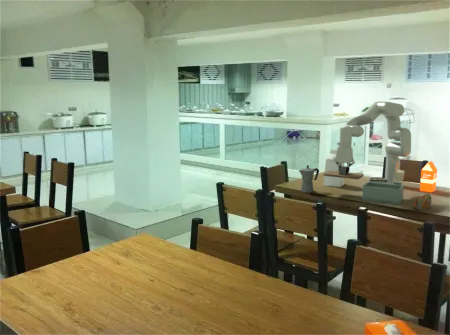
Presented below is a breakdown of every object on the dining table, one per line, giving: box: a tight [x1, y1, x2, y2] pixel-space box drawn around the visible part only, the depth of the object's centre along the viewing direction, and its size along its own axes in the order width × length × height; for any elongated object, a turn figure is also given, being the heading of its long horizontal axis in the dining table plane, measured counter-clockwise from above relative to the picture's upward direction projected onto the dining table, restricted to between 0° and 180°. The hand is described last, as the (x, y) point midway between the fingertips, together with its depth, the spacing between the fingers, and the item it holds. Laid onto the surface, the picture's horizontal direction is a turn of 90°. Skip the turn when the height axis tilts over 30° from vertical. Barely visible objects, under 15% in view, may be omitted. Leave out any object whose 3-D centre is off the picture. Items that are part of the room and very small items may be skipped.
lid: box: [323, 165, 365, 180], centre depth 275 cm, size 14×23×6 cm, turn 59°
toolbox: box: [361, 181, 405, 205], centre depth 266 cm, size 18×22×10 cm
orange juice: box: [419, 161, 438, 193], centre depth 286 cm, size 8×9×20 cm
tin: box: [413, 193, 432, 211], centre depth 244 cm, size 15×3×8 cm, turn 126°
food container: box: [368, 176, 388, 184], centre depth 282 cm, size 12×6×10 cm, turn 84°
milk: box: [323, 148, 345, 188], centre depth 304 cm, size 12×12×26 cm
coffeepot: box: [298, 165, 320, 194], centre depth 287 cm, size 15×9×18 cm, turn 107°
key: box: [395, 169, 405, 182], centre depth 273 cm, size 8×4×6 cm, turn 149°
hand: (343, 172), depth 275 cm, fingers closed on lid, 4 cm apart
